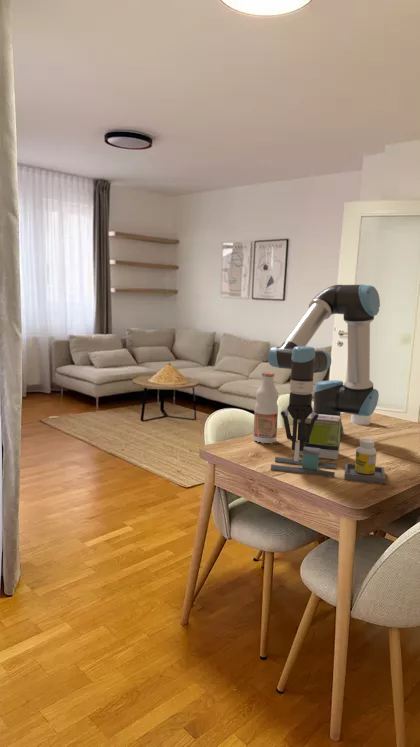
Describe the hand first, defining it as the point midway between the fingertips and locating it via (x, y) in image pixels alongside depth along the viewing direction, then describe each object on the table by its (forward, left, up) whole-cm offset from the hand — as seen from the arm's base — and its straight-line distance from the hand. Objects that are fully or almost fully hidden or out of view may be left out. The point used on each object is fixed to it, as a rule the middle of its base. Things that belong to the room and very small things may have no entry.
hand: (296, 459), depth 173 cm
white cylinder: (-79, +22, -3) cm, 82 cm away
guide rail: (0, +3, -3) cm, 4 cm away
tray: (0, +23, -3) cm, 23 cm away
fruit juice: (-29, -16, -3) cm, 33 cm away
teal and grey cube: (0, +5, -3) cm, 6 cm away
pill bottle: (0, +23, -3) cm, 23 cm away
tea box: (-19, +6, -3) cm, 20 cm away
